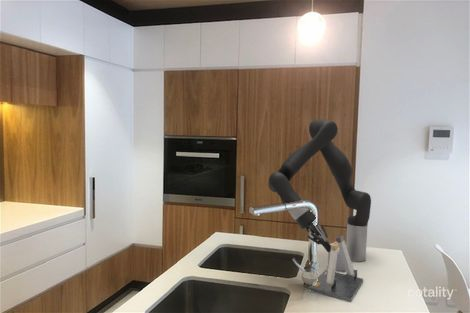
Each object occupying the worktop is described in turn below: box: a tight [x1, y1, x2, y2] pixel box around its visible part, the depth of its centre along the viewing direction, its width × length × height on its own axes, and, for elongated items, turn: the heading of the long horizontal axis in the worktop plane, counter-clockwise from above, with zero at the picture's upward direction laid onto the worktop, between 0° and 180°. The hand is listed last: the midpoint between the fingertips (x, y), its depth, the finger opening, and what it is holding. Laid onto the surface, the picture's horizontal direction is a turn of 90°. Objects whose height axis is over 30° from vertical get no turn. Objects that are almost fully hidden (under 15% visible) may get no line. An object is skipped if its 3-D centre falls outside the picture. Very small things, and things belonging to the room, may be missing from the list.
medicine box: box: [327, 248, 346, 272], centre depth 160 cm, size 8×4×9 cm, turn 74°
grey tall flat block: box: [335, 234, 356, 277], centre depth 147 cm, size 5×2×18 cm, turn 148°
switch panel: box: [308, 268, 364, 303], centre depth 143 cm, size 20×16×4 cm
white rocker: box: [326, 241, 339, 286], centre depth 136 cm, size 5×2×18 cm, turn 148°
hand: (330, 250), depth 136 cm, fingers closed
